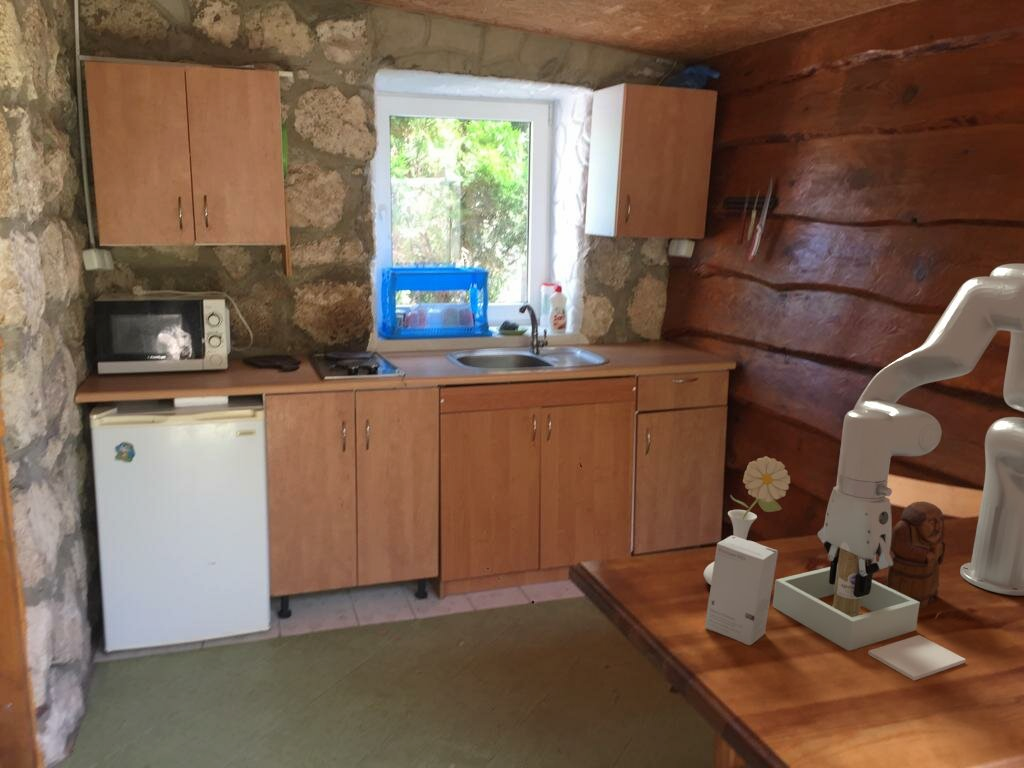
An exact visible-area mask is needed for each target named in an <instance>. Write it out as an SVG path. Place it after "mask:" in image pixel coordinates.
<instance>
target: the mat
mask: <svg viewBox="0 0 1024 768" xmlns="http://www.w3.org/2000/svg"><path fill="white" fill-rule="evenodd" d="M867 653H868V656H870V657H872V658H874V659H876V660H877V661H879V662H881V663H882V664H885V665H886V666H888V667H890V668H891V669H893V670H894V671H896V672H898V673H900V674H902V675H903V676H905V677H907V678H908V679H910V680H912V681H917V680H919V679H923V678H925V677H929V676H931V675H934V674H936V673H939V672H942V671H946V670H948V669H951V668H954V667H956V666H959V665H962V664H964V663H966V658H965V657H962V656H960V655H958V654H957V653H955V652H953V651H951V650H949V649H947V648H946V647H943V646H941V645H939V644H937V643H936V642H934V641H932V640H929V639H928V638H926V637H923V636H922V635H920V634H917V635H915V636H911V637H909V638H905V639H902V640H899V641H895V642H891V643H889V644H885V645H883V646H880V647H876V648H873V649H870V650H868V652H867Z"/></svg>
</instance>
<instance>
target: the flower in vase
mask: <svg viewBox="0 0 1024 768" xmlns="http://www.w3.org/2000/svg"><path fill="white" fill-rule="evenodd" d="M785 467H786V466H785V464H783V462H781V461H777V459H776V458H770V457H768V456H764V457H759V458H757V459H756V460H753V461H750V462H749V463H748V465H747V466H746V470H745V471H744V475H743V480H742V483H743V484H745V485H744V487H745V489H747V490H748V492H747V493H748V495H750V496H752V497H753V498H755V501H754V502H753V503H752V504H751V506H748V505H747V504H746V503H745V502H743V501H740V500H738V499H736V498H734V497H733V495H732V494H730V498H731V500H733V501H734V502H736V503H738V504H739V505H742V506H743V507H746V508H747V510H744V509H733V510H729V511H728V512H727V515H728V516H729V518H730V521H731V524H732V529H733V533H732V534H733V536H736V537H739V538H742V539H745V540H747V537H748V533H749V531H750V527H751V526H752V524H753V523H754V521H755V520H757V518H758V516H757V514H755V513H753V512H751V510H752V508H753V507H754V506H755V505H756V504H758V506H759V507H760V508H761V510H763V512H767V513H771V512H777V511H781V510H782V506H781V505H780V504H779V503H778V501H777V500H779V499H781V498H783V497H785V496H786V494H787V490H789V489H790V486H789V484H791V476H790V475H789V474H788V473H789V472H788V470H787V469H785ZM713 568H714V561H713V562H711V563H710V564H708V565H707V566H706V567H705V569H704V571H703V577H704V579H705V581H706V582H707V583H708V584H709V585H710V586H711V581H712V575H713Z"/></svg>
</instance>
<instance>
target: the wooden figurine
mask: <svg viewBox="0 0 1024 768" xmlns="http://www.w3.org/2000/svg"><path fill="white" fill-rule="evenodd" d="M945 530H946V529H945V521H944V515H943V512H942V510H941V509H940V507H938V506H937V505H935V504H934V503H931V502H928V501H915V502H912V503H910V504H908V505H907V507H905V508H904V510H903V511H902V513H901V515H900V521H897V523H896V524H895V526H894V528H893V529H892V532H891V545H890V551H891V552H892V555H893V556H892V557H891V559H892V561H893V566H890V567H888V572H887V577H886V578H887V580H886V586H887V587H889V588H891V589H893V590H895V591H897V592H899V593H902V594H904V595H906V596H908V597H910V598H912V599H914V600H916V601H918V602H920V605H919V609H925V608H926V607H928V605H929V604H931V603H934V602H935V599H934V597H937V596H938V595H939V586H940V567H939V566H940V565H942V563H944V562H943V561H944V557H945V554H946V553H945V552H946V546H947V545H946V543H945V542H944V539H945Z"/></svg>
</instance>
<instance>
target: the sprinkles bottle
mask: <svg viewBox="0 0 1024 768" xmlns="http://www.w3.org/2000/svg"><path fill="white" fill-rule="evenodd" d="M840 547H841V548H840V552H839V559H838V564H837V572H836V580H835V589H834V592H835V594H833V604H832V607H833V608H835V609H837V610H839V611H841V612H843V613H845V614H846V615H848V616H850V617H855V616H859V615H861V599H862V597H858V598H857V597H855V596H854V587H855V578H856V574H859V573H860V572H859V559H858V556H856V555H854V554H852V553H851V552H850V548H849V546H848V544H847V543H846V542H843V543H842V544H841V546H840Z"/></svg>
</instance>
